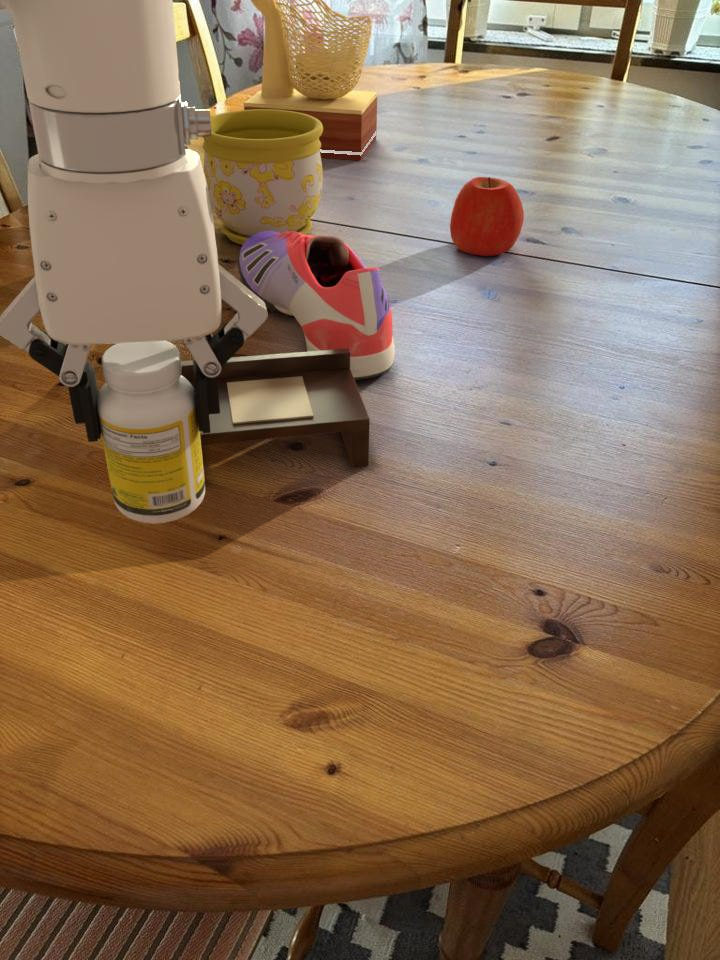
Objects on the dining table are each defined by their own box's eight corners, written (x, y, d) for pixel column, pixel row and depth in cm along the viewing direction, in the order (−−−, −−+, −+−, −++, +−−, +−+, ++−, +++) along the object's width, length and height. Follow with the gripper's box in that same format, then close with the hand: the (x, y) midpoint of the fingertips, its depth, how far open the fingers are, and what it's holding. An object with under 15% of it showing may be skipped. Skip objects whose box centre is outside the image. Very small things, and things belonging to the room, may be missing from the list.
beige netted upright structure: (237, 151, 171) (224, -56, 150) (263, 128, 185) (254, -64, 164) (360, 161, 167) (364, -50, 146) (377, 137, 181) (383, -59, 160)
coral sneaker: (307, 263, 126) (306, 170, 118) (420, 377, 99) (427, 267, 91) (225, 275, 122) (218, 180, 114) (320, 398, 95) (319, 284, 87)
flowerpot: (187, 245, 130) (175, 132, 121) (238, 208, 144) (231, 104, 134) (298, 262, 126) (295, 146, 116) (339, 222, 140) (340, 115, 130)
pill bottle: (157, 462, 62) (138, 322, 56) (224, 491, 60) (213, 348, 53) (93, 506, 58) (66, 360, 51) (163, 539, 55) (143, 390, 49)
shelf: (182, 485, 82) (174, 420, 77) (179, 423, 90) (171, 361, 86) (368, 466, 85) (370, 402, 80) (348, 408, 93) (348, 348, 89)
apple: (527, 242, 134) (536, 172, 128) (506, 266, 126) (515, 193, 120) (461, 230, 137) (467, 162, 131) (437, 253, 129) (442, 182, 123)
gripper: (269, 114, 49) (278, 387, 60) (-52, 119, 46) (17, 405, 57) (284, 151, 43) (291, 447, 54) (-83, 159, 40) (1, 471, 51)
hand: (150, 423), depth 55 cm, fingers closed on pill bottle, 6 cm apart
